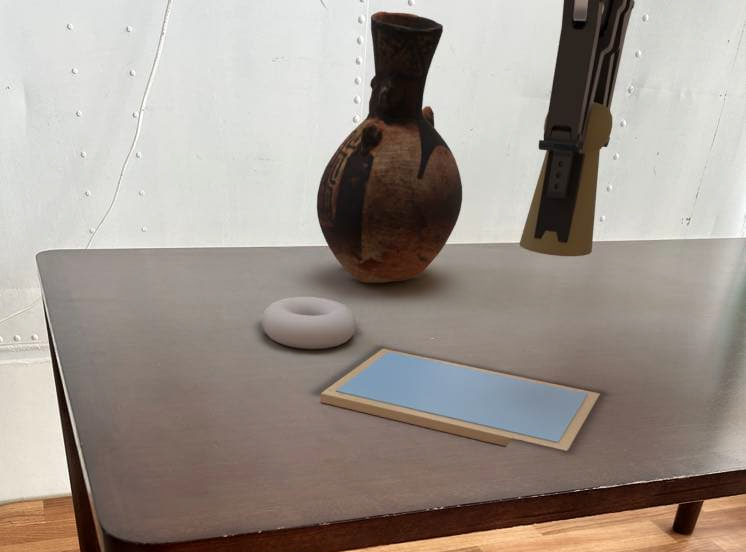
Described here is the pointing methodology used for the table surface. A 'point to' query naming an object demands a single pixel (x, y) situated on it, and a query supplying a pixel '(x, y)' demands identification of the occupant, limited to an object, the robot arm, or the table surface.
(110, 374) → the table surface
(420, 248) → the ceramic vessel
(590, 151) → the olive pawn piece
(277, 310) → the donut
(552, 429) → the tablet
